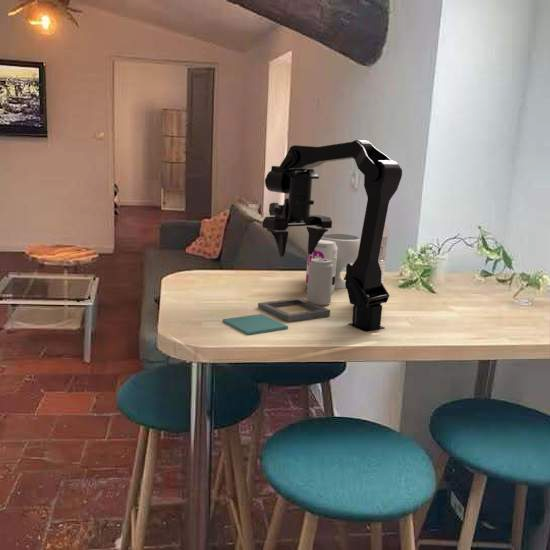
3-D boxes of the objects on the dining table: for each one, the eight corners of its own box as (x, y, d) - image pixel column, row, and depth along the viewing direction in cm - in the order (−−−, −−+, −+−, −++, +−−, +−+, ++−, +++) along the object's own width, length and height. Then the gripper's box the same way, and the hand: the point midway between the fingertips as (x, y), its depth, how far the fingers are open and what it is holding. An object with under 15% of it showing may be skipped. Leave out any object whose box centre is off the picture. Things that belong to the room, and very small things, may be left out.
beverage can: (334, 303, 169) (337, 259, 166) (323, 308, 163) (327, 263, 161) (313, 299, 172) (316, 256, 169) (302, 304, 166) (305, 259, 164)
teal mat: (287, 328, 144) (288, 326, 144) (247, 335, 138) (247, 332, 138) (261, 316, 153) (261, 313, 153) (222, 321, 147) (222, 319, 146)
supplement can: (319, 298, 173) (322, 244, 170) (299, 291, 180) (302, 240, 176) (339, 294, 179) (343, 242, 175) (319, 288, 185) (323, 238, 181)
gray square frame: (329, 315, 156) (330, 310, 156) (288, 322, 149) (288, 316, 149) (298, 303, 167) (298, 297, 166) (257, 308, 159) (258, 303, 159)
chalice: (367, 285, 192) (371, 237, 188) (345, 293, 180) (350, 242, 177) (327, 278, 199) (331, 231, 196) (304, 285, 188) (307, 235, 185)
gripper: (309, 192, 172) (305, 248, 175) (252, 192, 161) (249, 252, 164) (335, 196, 163) (330, 255, 166) (277, 197, 152) (273, 260, 156)
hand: (296, 255), depth 163 cm, fingers open, 9 cm apart
